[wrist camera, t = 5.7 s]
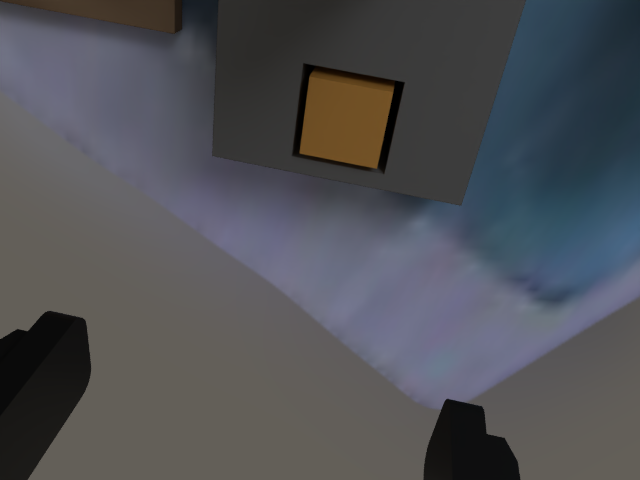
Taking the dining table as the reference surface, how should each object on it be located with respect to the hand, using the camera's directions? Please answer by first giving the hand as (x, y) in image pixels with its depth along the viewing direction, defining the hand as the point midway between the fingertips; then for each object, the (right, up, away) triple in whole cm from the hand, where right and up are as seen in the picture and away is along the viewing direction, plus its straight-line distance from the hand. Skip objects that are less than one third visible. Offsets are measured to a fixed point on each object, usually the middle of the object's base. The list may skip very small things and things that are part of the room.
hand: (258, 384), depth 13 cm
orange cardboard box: (+3, +10, +16) cm, 20 cm away
